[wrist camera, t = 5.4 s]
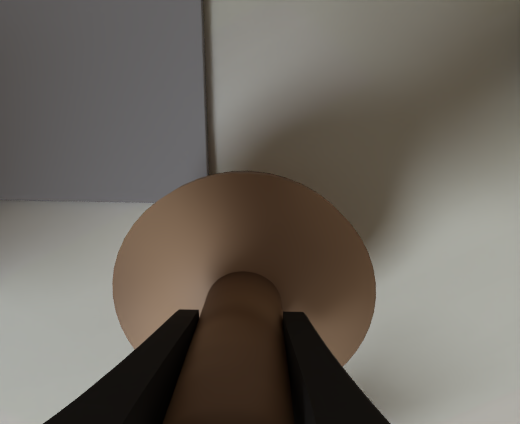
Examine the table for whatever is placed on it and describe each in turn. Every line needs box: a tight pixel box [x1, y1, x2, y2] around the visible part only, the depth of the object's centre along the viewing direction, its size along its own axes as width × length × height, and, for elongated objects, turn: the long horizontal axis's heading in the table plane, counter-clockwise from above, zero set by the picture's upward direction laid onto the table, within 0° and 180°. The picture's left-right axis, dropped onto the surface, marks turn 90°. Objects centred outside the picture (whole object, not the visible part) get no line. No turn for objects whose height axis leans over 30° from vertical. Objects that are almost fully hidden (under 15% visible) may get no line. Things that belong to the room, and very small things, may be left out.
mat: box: [0, 0, 209, 203], centre depth 11 cm, size 14×14×1 cm
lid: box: [113, 171, 376, 424], centre depth 7 cm, size 9×9×5 cm
